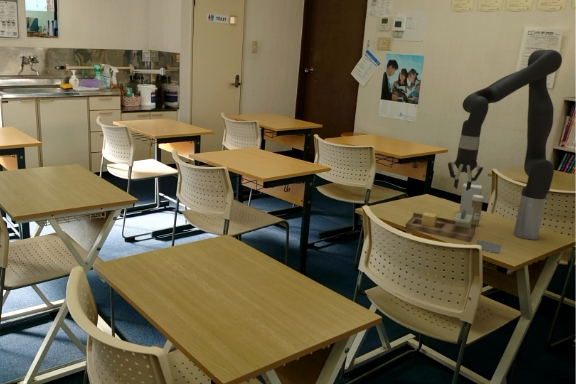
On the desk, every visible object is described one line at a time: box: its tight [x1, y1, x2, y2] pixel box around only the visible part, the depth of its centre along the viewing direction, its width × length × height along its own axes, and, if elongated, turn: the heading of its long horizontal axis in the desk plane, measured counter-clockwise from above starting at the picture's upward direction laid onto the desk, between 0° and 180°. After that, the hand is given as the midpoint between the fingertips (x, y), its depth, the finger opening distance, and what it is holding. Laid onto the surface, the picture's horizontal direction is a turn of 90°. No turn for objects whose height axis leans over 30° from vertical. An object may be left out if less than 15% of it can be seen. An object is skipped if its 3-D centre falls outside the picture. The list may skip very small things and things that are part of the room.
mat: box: [475, 239, 502, 254], centre depth 201 cm, size 10×10×1 cm
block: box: [421, 211, 438, 228], centre depth 216 cm, size 5×5×6 cm
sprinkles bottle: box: [470, 195, 485, 227], centre depth 225 cm, size 5×5×13 cm
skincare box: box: [458, 183, 483, 215], centre depth 237 cm, size 8×6×15 cm
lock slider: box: [452, 210, 473, 229], centre depth 211 cm, size 6×10×8 cm, turn 154°
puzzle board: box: [404, 212, 477, 243], centre depth 215 cm, size 26×13×4 cm, turn 64°
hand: (461, 189), depth 208 cm, fingers open, 3 cm apart
